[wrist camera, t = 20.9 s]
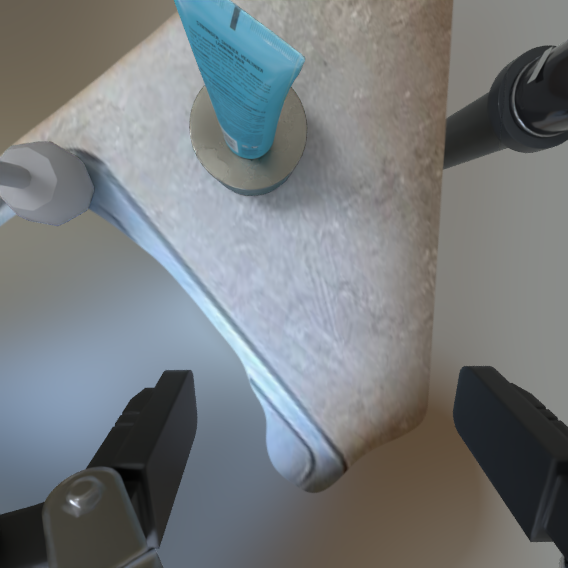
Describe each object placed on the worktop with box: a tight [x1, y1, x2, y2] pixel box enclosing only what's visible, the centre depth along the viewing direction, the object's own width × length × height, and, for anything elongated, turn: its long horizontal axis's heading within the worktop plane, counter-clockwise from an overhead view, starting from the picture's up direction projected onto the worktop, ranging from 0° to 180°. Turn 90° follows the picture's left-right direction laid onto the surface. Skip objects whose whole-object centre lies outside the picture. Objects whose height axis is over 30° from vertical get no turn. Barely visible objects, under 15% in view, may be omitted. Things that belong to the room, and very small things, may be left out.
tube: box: [174, 0, 305, 159], centre depth 25 cm, size 7×5×19 cm, turn 62°
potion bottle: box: [0, 142, 95, 226], centre depth 33 cm, size 9×9×18 cm
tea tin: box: [189, 85, 307, 196], centre depth 38 cm, size 11×11×8 cm
